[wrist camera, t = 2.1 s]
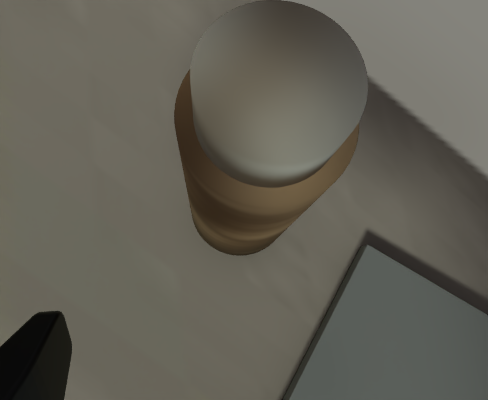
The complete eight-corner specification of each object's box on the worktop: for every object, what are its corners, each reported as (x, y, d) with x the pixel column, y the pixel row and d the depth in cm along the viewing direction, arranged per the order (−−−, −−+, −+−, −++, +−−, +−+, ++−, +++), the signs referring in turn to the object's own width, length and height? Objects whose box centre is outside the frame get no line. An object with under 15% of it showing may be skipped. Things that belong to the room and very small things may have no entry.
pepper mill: (303, 192, 22) (424, 49, 10) (256, 273, 21) (327, 229, 9) (223, 145, 23) (241, -53, 10) (172, 223, 21) (120, 107, 9)
